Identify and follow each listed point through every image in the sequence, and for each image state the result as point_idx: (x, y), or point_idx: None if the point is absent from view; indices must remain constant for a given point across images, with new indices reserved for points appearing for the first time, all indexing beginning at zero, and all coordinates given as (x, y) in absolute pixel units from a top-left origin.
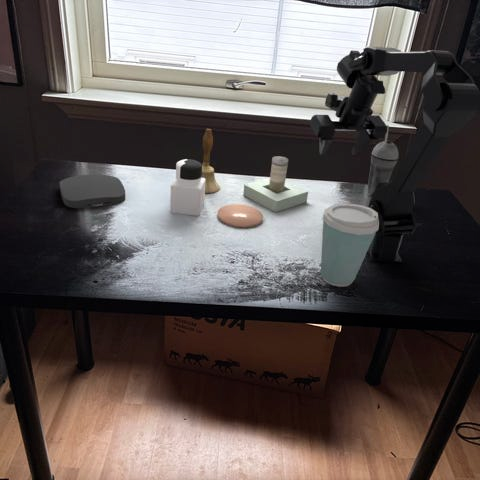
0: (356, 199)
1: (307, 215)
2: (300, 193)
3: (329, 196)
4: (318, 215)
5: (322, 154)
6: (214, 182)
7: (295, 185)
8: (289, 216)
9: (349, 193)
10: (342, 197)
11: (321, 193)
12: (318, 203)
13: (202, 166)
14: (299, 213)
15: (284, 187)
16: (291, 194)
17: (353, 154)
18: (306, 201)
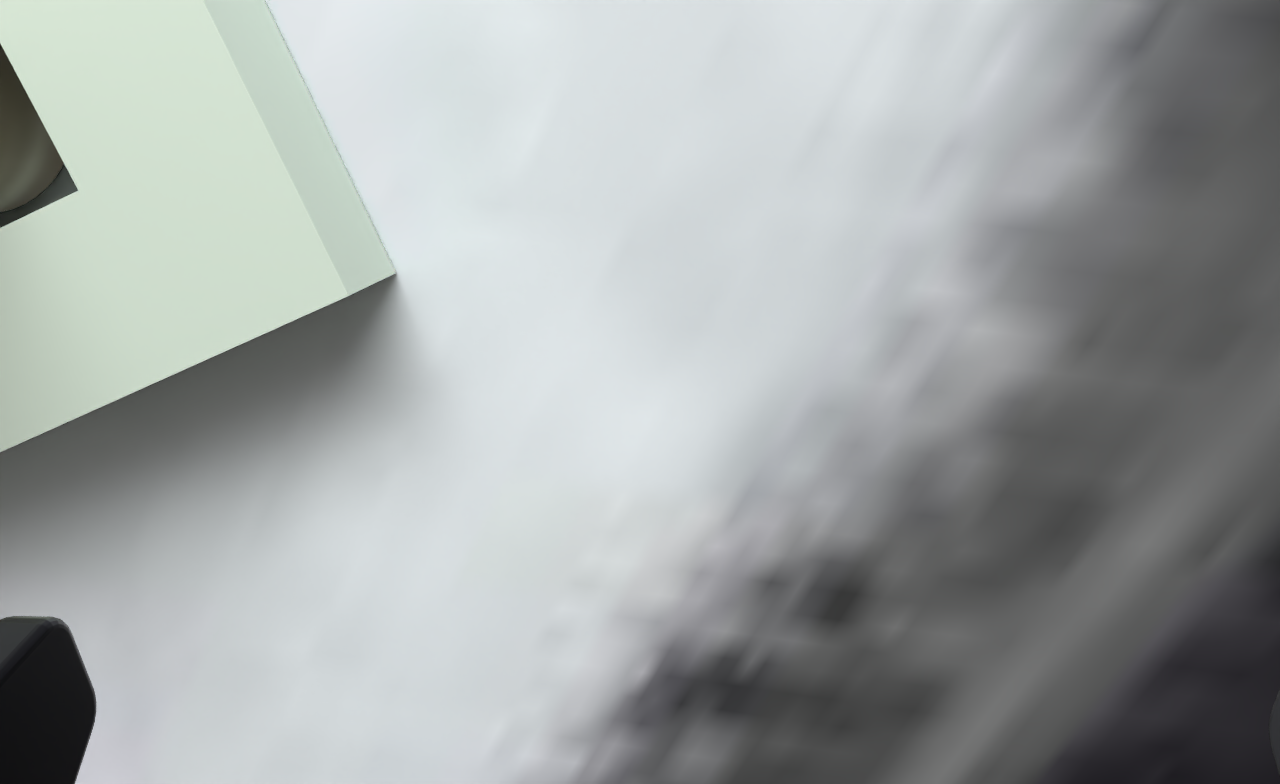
0: (1220, 285)
1: (255, 641)
2: (187, 356)
3: (840, 131)
4: (396, 661)
5: (64, 760)
6: None
7: (212, 31)
8: None
9: (1250, 55)
10: (1034, 190)
11: (765, 5)
12: (551, 341)
13: None
14: (173, 579)
15: (18, 57)
16: (32, 373)
17: (1274, 750)
18: (391, 274)
